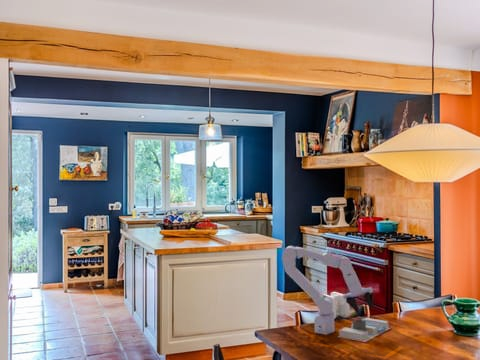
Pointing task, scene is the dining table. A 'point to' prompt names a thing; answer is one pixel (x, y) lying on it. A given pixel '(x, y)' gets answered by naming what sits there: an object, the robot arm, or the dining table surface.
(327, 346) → the dining table surface
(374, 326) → the grey stepped board
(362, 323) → the cord plug
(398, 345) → the dining table surface
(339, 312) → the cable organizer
